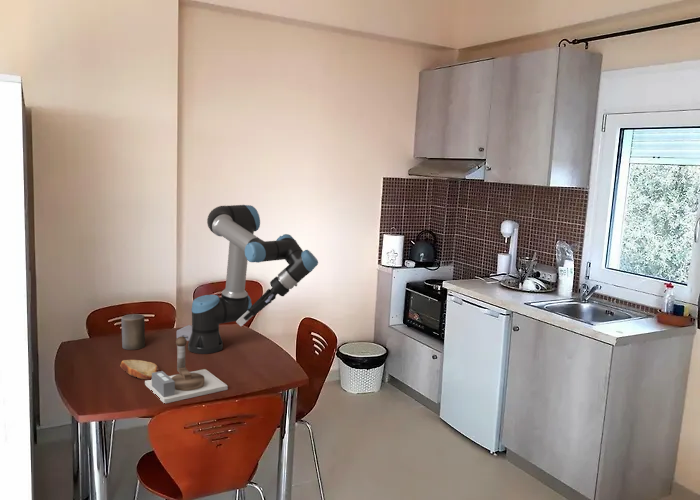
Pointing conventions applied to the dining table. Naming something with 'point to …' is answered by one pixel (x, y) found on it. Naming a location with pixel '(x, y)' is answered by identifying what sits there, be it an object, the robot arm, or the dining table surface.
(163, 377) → the stand
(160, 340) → the dining table surface
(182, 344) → the cam handle
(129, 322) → the pillar candle
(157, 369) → the slice of bread
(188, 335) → the charger
